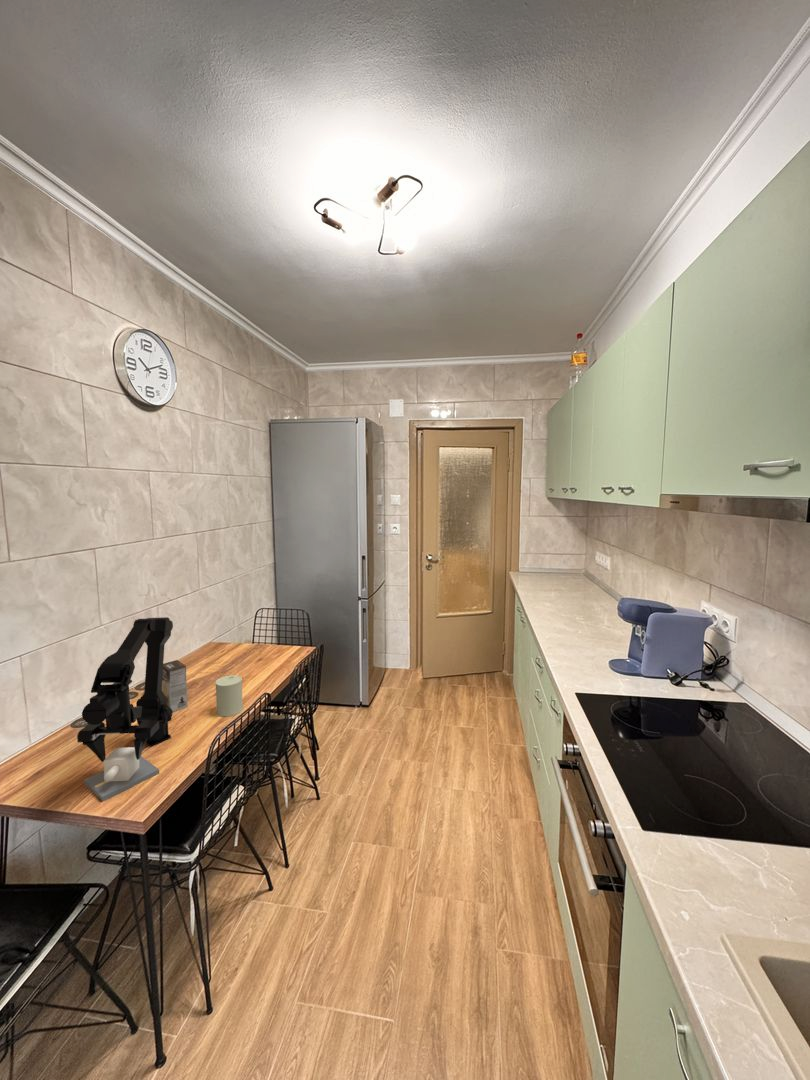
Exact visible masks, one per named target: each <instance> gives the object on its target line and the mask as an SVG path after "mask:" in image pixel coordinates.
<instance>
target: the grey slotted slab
mask: <svg viewBox="0 0 810 1080" xmlns="http://www.w3.org/2000/svg"><path fill="white" fill-rule="evenodd" d="M159 774H160V769H159V768H158V767H156V766H155V765H154V764H152V763H151V762H150V761H148V759H146V758H144V757H143V756H142V755H141V757H140V759H139V768H138V769H137V771H136V772H135V773H134V774H133V775H132V777H131V778H130V779H129V780H128V781H109V782H105V780H104V770H103V771H101V772H99V773H98V772H97V773H95V774H94V775H92V776H89V777H87V778H85V779H84V781H83V783H84V785H85V786H87V788H88V789H90V791H91V792H93V794H94V795H96V797H97V798H98V799H100V800H101V802H105V801H106V800H108V799H111V798H112V797H114V796H116V795H119V794H121V793H123V792H124V791H127V790H128V789H131V788H133V787H135V786H136V785H138V784H140V783H142V782H145V781H147V780H149V779H151V778H152V777H155V776H158V775H159Z"/></svg>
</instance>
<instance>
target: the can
mask: <svg viewBox="0 0 810 1080" xmlns="http://www.w3.org/2000/svg"><path fill="white" fill-rule="evenodd" d="M214 684H215V701H216V711H215V712H216V714H217V716H220V717H232V716H235V715H238V714H240V713H241V712H242V711H243V710H244V705H243V704H244V703H243V678H242V676H240V675H235V674H233V675H226V676H222V677H220V678H218V679H216V680H215V683H214Z"/></svg>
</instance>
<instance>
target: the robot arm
mask: <svg viewBox="0 0 810 1080" xmlns="http://www.w3.org/2000/svg"><path fill="white" fill-rule="evenodd" d="M132 624H133V627H131V630H130V631H129V633H128V634H127V636H126V637H125V639H124V640H123V642H122V643H121V645H120V646H119V648H118V649H117V650H116V651H115V652H114V653H113V654H111V655H109V656H107V657H106V658H105V659H104V660H103V661H102V663H100V666H99V667H98V668H97V670H96V675H95V677H94V680H93V683H92V686H91V690H90V693H92V694H93V693H95V695H93V696H91V697H90V698H89V703H87V704H86V705H85V706H84V707H83V709H82V712H81V717H82V719H83V721H84V722H85V723H87V725H85V726H84V727H83V728H82V729H80V730H79V731H78V732H77V733H76V741H77V743H82V745H83V746H86V747H87V748H89V750H90V751H92V752H93V753H94V755H95V756H96V757H97V758H98V759H99V761H101V762H103V763H104V760H105V759H106V746H105V738H106V735H121V734H122V735H125V734H133V736H134V738H135V739H134V740H133V745H134V747H135V754H136V758H137V760H139V759H140V757H141V756H142V753H143V751H144V748H145V744H146V745H148V746H149V747H152V746H155V745H158V744H160V743H163V742H164V741H167V740H169V739H171V738H172V735H170V734H169V722H171V721H172V718H173V717H172V716H173V712H172V709H171V708H170V707H169V706H168V705H167V698H166V696H165V695H164V693H163V692H162V676H163V664H164V659H165V645H166V643H167V642H168V640H169V639H170V637H171V635H172V631H173V629H174V623H173V621H172V620H171V619H170V618H169V617H168V616H167V617H148V618H138V619H135V620H134V621H133V623H132ZM144 644H146V647H147V649H146V661H145V662H146V663H145V665H146V666H145V675H144V676H145V677H144V689H143V690H144V691H143V694H142V695H141V696H140V698H138V699H137V701H136V702H135V703H136V706H134V705H133V703H131V700H130V698H131V697H130V685H131V684H132V682H133V680H132V677H133V674H134V671H135V668H136V666H135V662H134V661H135V659H136V657H137V655H138V654H139V652H140V650H141V649H142V647H143V646H144ZM104 721H105V723H104ZM136 722H137V723H136ZM134 723H136V724H137V725H135V724H134ZM132 724H134V725H132Z"/></svg>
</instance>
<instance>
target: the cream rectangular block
mask: <svg viewBox="0 0 810 1080" xmlns="http://www.w3.org/2000/svg"><path fill="white" fill-rule="evenodd" d="M138 768H139V760H137V758H136V754H135V747H115V748H114V749H113V750H112V752H110V754H109V755H108V756H107V757H105V760H104V761H103V771H104V780H105V782H109V781H128V780H129V779H130V778H131V777H132V775H133V774H134V773H135V772H136V771H137V769H138Z"/></svg>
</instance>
